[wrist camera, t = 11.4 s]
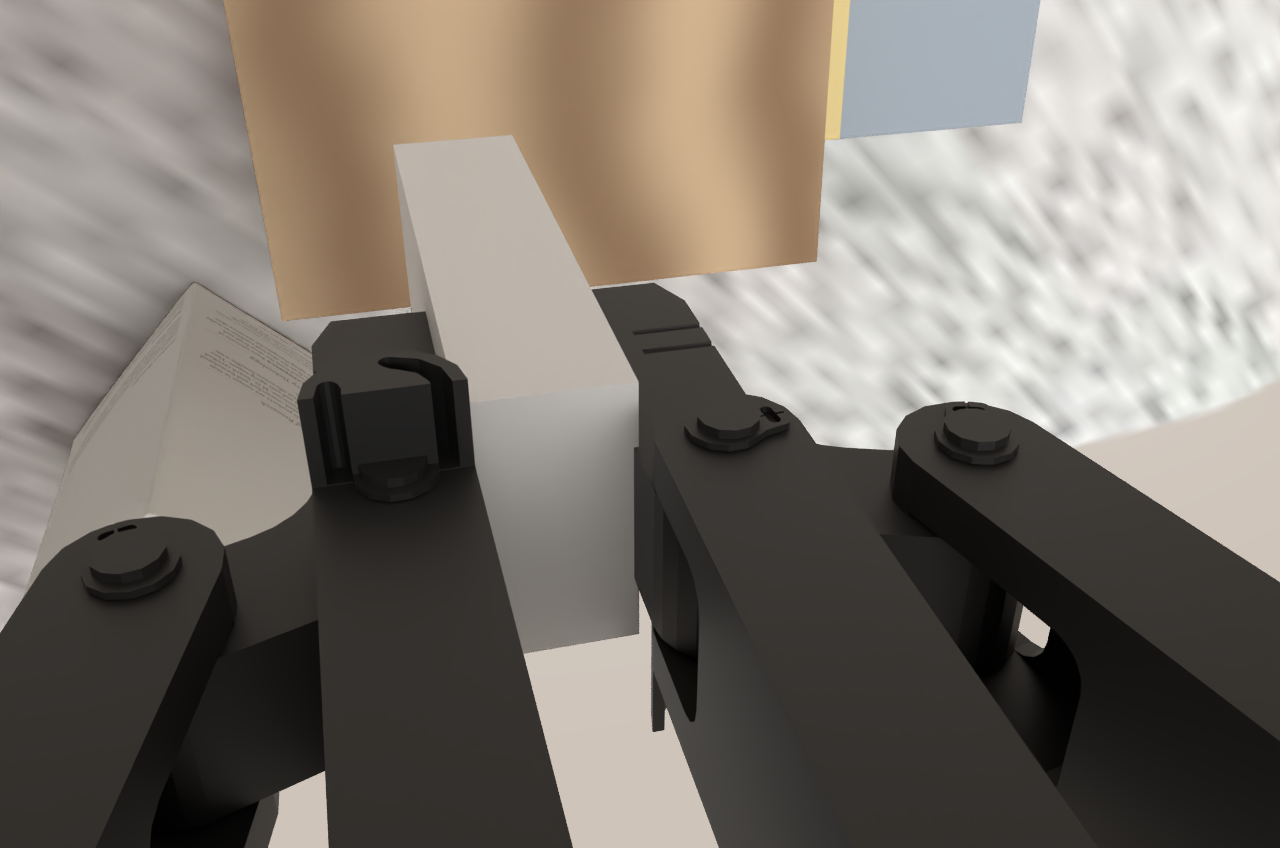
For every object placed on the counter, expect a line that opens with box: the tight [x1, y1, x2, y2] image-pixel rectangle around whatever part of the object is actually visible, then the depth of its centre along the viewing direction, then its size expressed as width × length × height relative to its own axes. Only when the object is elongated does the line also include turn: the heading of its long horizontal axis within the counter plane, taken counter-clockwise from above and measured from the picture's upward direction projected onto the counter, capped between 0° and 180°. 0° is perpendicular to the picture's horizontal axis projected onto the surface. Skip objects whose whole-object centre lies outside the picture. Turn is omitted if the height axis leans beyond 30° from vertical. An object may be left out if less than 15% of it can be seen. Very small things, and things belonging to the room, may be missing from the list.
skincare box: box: [23, 283, 313, 598], centre depth 38 cm, size 8×7×16 cm
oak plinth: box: [223, 0, 834, 321], centre depth 36 cm, size 16×14×9 cm
